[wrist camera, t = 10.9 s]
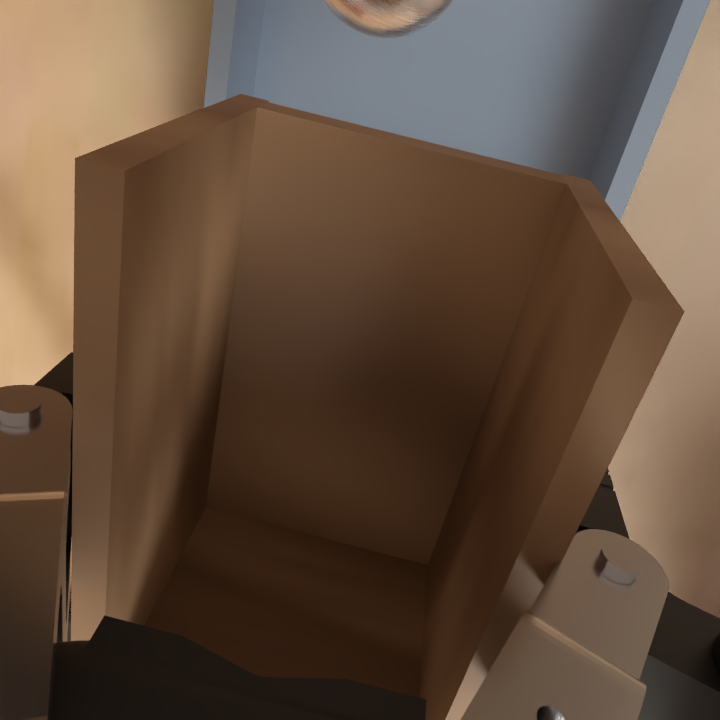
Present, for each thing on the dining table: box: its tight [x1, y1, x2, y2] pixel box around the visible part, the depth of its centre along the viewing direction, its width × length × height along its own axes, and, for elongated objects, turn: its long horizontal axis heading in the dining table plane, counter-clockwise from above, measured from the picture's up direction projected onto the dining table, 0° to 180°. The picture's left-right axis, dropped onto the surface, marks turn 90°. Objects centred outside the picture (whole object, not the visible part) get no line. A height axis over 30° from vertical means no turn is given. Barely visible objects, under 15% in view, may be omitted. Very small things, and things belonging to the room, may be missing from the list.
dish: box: [204, 0, 710, 221], centre depth 19 cm, size 14×12×4 cm
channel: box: [71, 94, 684, 720], centre depth 11 cm, size 9×6×6 cm, turn 168°
